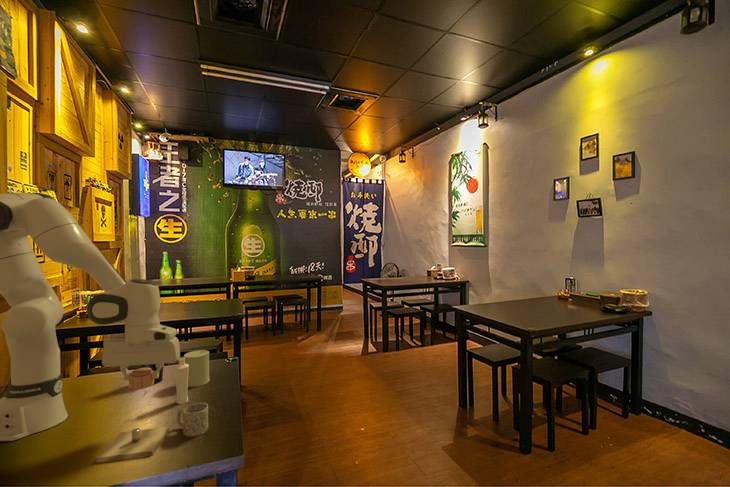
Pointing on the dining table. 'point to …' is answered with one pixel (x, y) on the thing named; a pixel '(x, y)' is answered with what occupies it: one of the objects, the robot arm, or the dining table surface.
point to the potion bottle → (154, 368)
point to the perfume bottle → (181, 381)
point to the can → (197, 367)
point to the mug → (194, 419)
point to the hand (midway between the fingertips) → (141, 378)
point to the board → (133, 445)
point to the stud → (135, 435)
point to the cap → (141, 378)
